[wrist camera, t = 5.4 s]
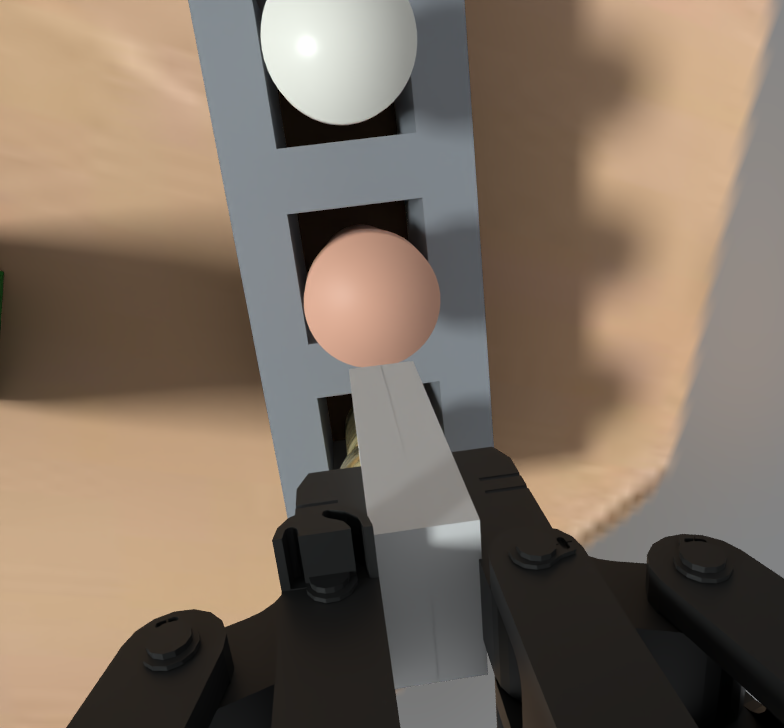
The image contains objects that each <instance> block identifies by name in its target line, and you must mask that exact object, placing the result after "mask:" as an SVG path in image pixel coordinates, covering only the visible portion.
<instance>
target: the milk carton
mask: <svg viewBox="0 0 784 728" xmlns="http://www.w3.org/2000/svg"><path fill="white" fill-rule="evenodd" d="M3 278H4V272H3V271H0V329H1V312H2V295H3Z"/></svg>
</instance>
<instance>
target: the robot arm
mask: <svg viewBox="0 0 784 728" xmlns="http://www.w3.org/2000/svg"><path fill="white" fill-rule="evenodd" d="M349 375H350V383H351V391H352V400H353V408H354V416H355V424H356V432H357V440H358V448H359V457H360V465H361V466H358V467H351V468H344V469H336V470H329V471H321V472H314V473H308V475H307V476H306V477H305V479H304V480H303V481H302V483H301V484H300V485H299V487H298V488H297V491H296V509H295V515H294V516H292V517H290V518H288V519H287V520H286V521H285V522H284V523H283V524H282V525H280V526H279V527H278V528H277V530H276V533H275V535H274V537H273V540H272V542H273V547H274V552H275V558H276V563H277V569H278V574H279V579H280V585H281V590H282V595H281V596H280V597H279V598H278V600H277V601H276V602H275V603H273V604H272V605H271V606H269V607H268V608H266V609H265V610H263V611H262V612H260V613H258V614H256V615H254V616H252V617H250V618H248V619H245V620H243V621H240V622H237V623H235V624H232V625H230V626H227V627H224V625H223V622H222V620H221V619H219V618H218V617H216V616H215V615H214V614H212V613H211V612H206V611H201V610H195V609H193V610H184V611H176V612H172V613H170V614H167V615H164V616H162V617H159V618H156V619H154V620H152V621H151V622H149V623H148V624H146V625H145V626H143V627H142V628H140V629H138V630H137V631H136V632H135V633H134V634H133V635H132V636H131V637H130V638H129V639H128V640H127V641H126V642H125V643H124V645H123V646H122V647H121V648H120V650H119V651H118V653H117V654H116V656H115V657H114V659H113V660H112V662H111V663H110V664H109V666H108V667H107V669H106V670H105V672H104V673H103V675H102V676H101V678H100V679H99V681H98V682H97V683H96V685H95V686H94V688H93V689H92V691H91V692H90V694H89V695H88V697H87V698H86V700H85V701H84V703H83V704H82V705H81V707H80V708H79V710H78V711H77V713H76V714H75V716H74V717H73V719H72V720H71V722H70V723H69V724H68V726H67V727H66V728H400V723H399V715H398V707H397V701H396V693H395V689H399V688H406V687H412V686H418V685H424V684H431V683H437V682H443V681H450V680H455V679H462V678H468V677H474V676H481V675H487V674H488V668H487V653H488V656H489V659H490V662H491V665H492V668H493V671H494V674H495V693H496V713H497V728H784V579H783V578H782V577H780V576H779V575H778V574H776V573H775V572H773V571H772V570H770V569H769V568H767V567H766V566H764V565H763V564H761V563H760V562H758V561H756V560H755V559H754V558H752V557H751V556H749V555H748V554H746V553H745V552H743V551H742V550H740V549H738V548H736V547H734V546H732V545H730V544H728V543H726V542H724V541H721V540H718V539H714V538H711V537H707V536H703V535H689V534H680V535H675V536H669V537H665V538H663V539H661V540H659V541H658V542H656V543H654V544H653V545H652V547H651V548H650V550H649V552H648V554H647V564H644V563H630V562H616V561H609V560H602V559H596V558H593V557H590V556H588V554H587V553H586V551H585V550H584V548H583V547H582V546H581V545H580V544H579V543H578V542H577V541H576V540H575V539H574V538H573V537H572V536H570V535H568V534H566V533H564V532H562V531H560V530H558V529H553V528H552V527H551V525H550V523H549V522H548V520H547V518H546V517H545V515H544V513H543V512H542V510H541V508H540V507H539V505H538V503H537V502H536V500H535V498H534V497H533V495H532V493H531V492H530V490H529V488H527V486H526V483H525V482H524V480H523V478H522V477H521V476H520V475H519V472H518V470H517V468H516V467H515V465H514V463H513V462H512V460H511V458H510V457H508V456H506V455H505V454H503V453H502V452H500V451H498V450H497V449H495V448H494V447H485V448H478V449H470V450H463V451H456V452H451V450H450V448H449V445H448V443H447V441H446V438H445V436H444V434H443V431H442V429H441V427H440V424H439V422H438V419H437V417H436V415H435V412H434V410H433V408H432V405H431V403H430V400H429V398H428V396H427V393H426V391H425V389H424V386H423V384H422V381H421V379H420V377H419V374H418V372H417V370H416V367H415V365H414V362H413V361H409V362H401V363H393V364H385V365H377V366H369V367H361V368H353V369H349ZM745 689H746V690H747V691H748V692H749V693H750V694H751V695H753V696H754V697H755V698H756V699H757V700H758V701H759V702H760V703H759V702H758V701H756V700H755V699H754V698H753V697H752V696H750V695H749V694H748V693H747V692H746V691H745Z"/></svg>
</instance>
